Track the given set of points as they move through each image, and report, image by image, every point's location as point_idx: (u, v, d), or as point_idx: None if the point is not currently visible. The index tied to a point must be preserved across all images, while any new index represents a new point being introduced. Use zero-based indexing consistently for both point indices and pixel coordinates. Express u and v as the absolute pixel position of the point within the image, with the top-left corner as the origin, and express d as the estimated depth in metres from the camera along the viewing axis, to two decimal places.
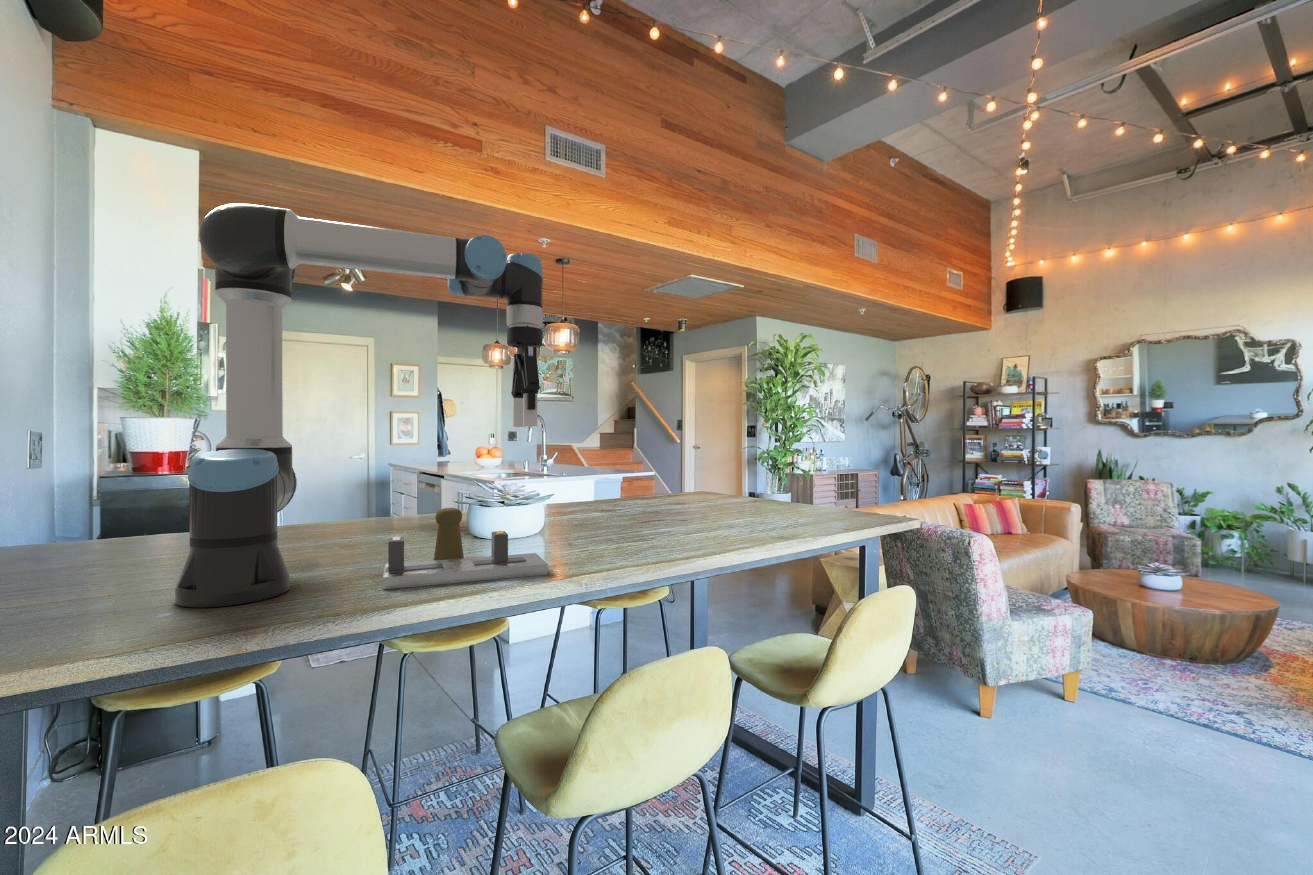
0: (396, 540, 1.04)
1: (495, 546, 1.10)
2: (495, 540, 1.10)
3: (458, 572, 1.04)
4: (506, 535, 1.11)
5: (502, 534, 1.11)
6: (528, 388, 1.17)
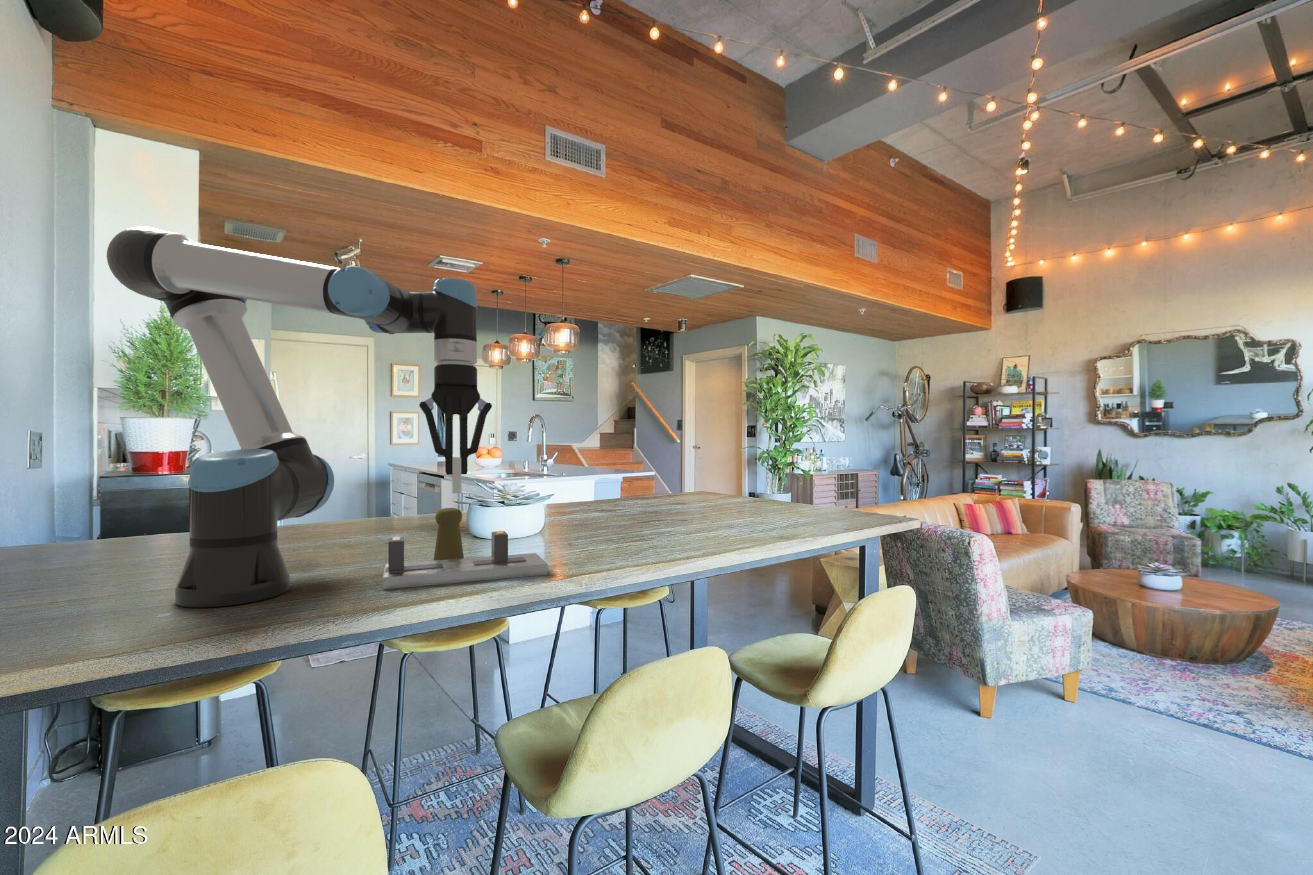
0: (396, 540, 1.04)
1: (495, 546, 1.10)
2: (495, 540, 1.10)
3: (458, 572, 1.04)
4: (506, 535, 1.11)
5: (502, 534, 1.11)
6: None
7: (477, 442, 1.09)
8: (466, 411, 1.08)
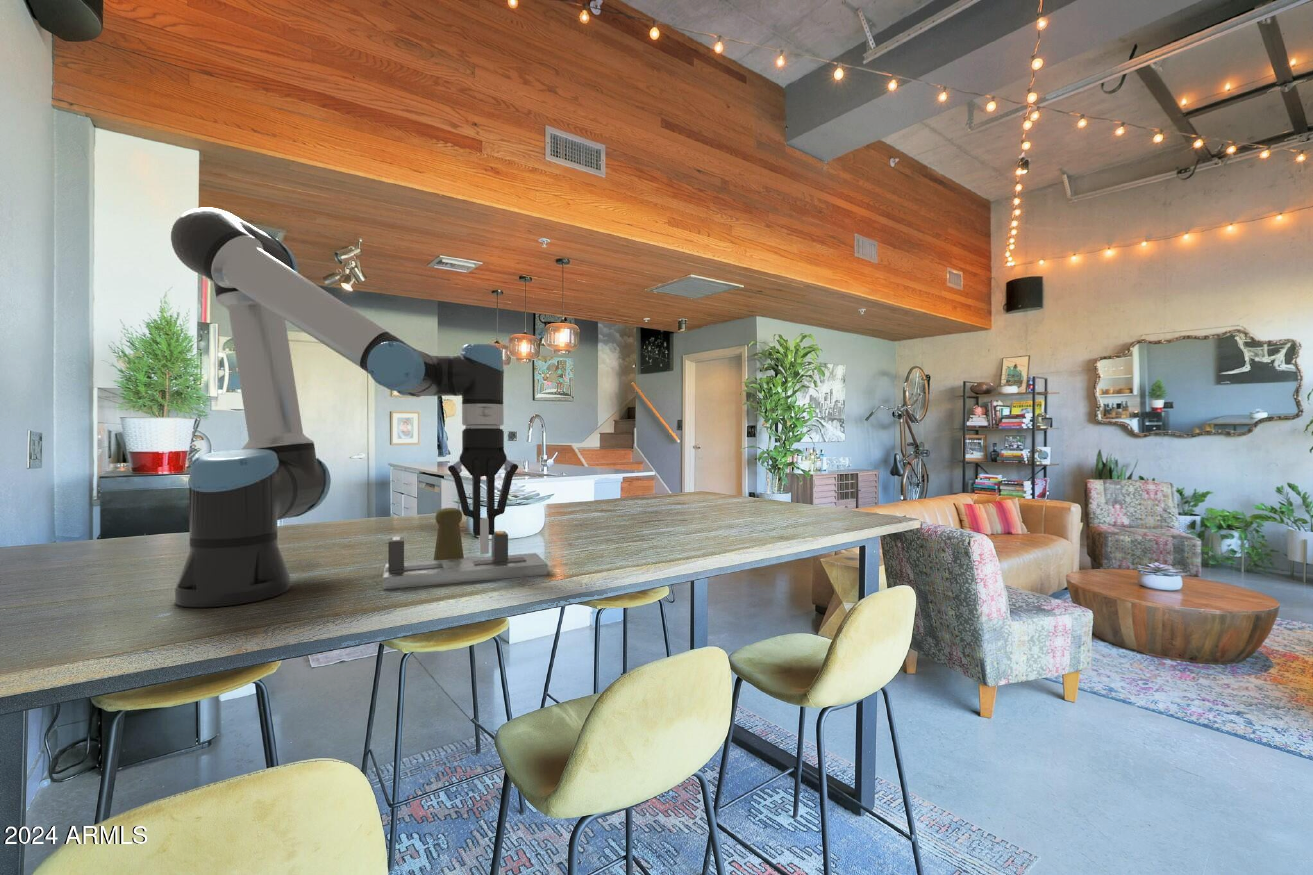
0: (396, 540, 1.04)
1: (495, 546, 1.10)
2: (495, 540, 1.10)
3: (458, 572, 1.04)
4: (506, 535, 1.11)
5: (502, 534, 1.11)
6: None
7: (504, 503, 1.11)
8: (493, 473, 1.10)
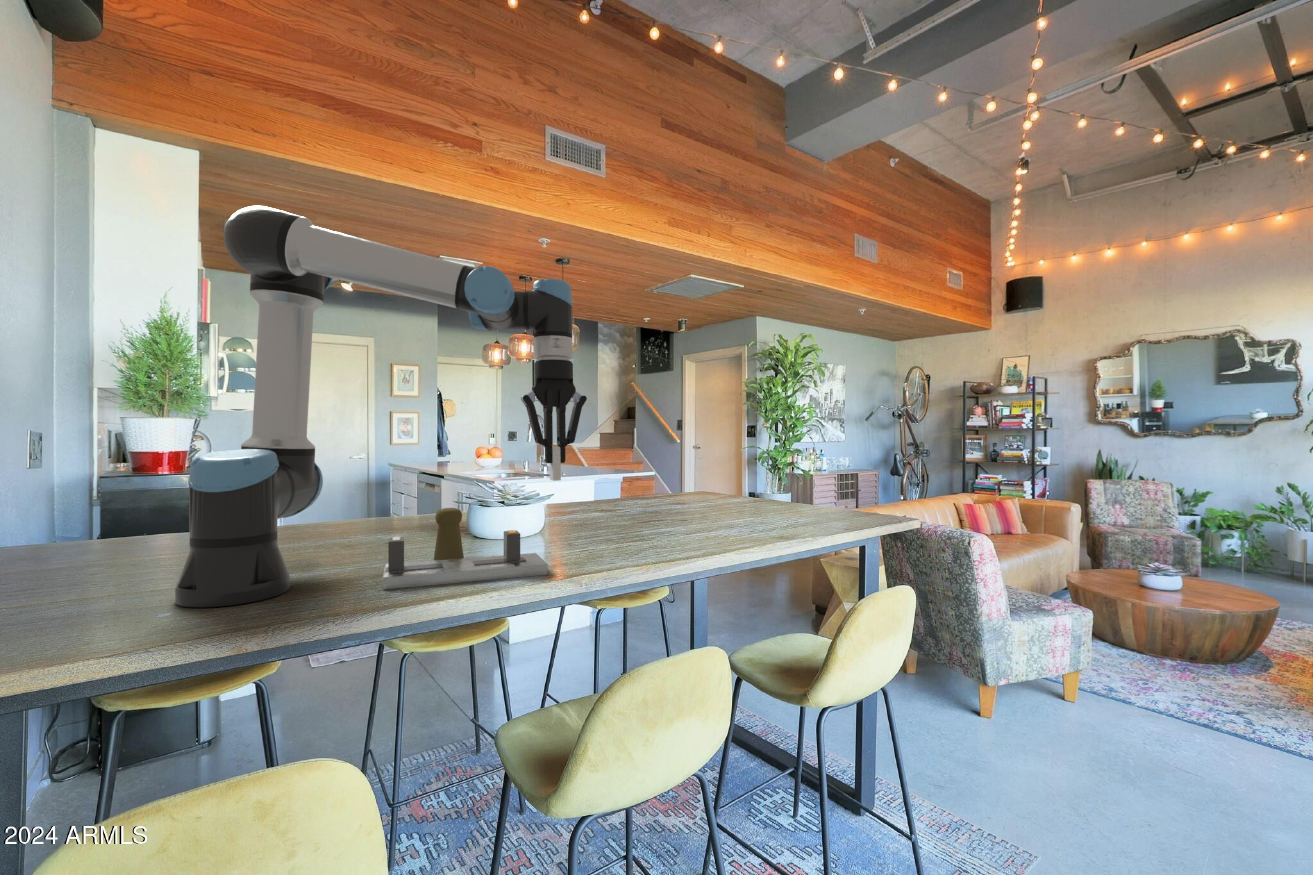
0: (396, 540, 1.04)
1: (507, 545, 1.11)
2: (507, 539, 1.11)
3: (458, 572, 1.04)
4: (518, 534, 1.11)
5: (514, 533, 1.11)
6: (537, 443, 1.16)
7: (574, 433, 1.16)
8: (564, 403, 1.15)
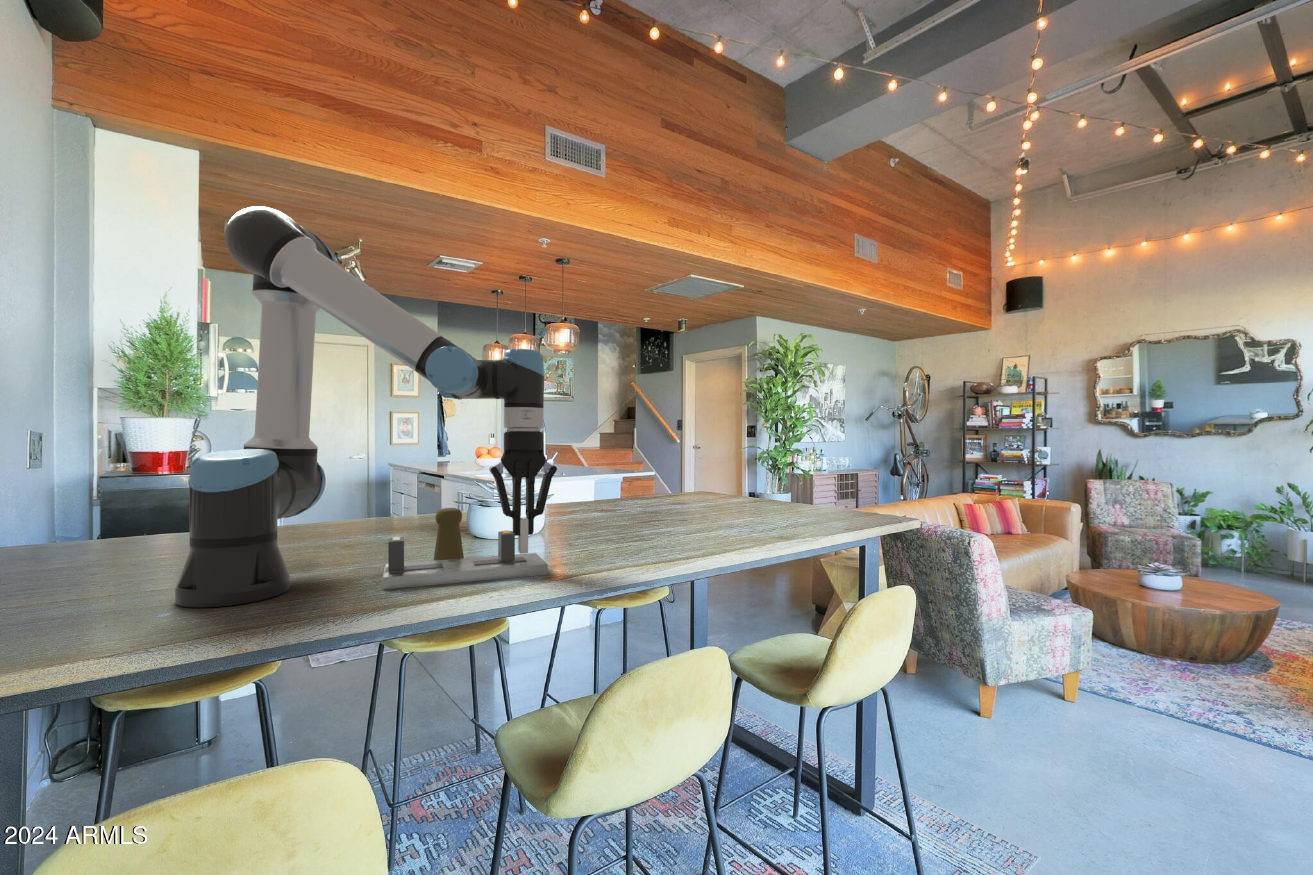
0: (396, 540, 1.04)
1: (502, 546, 1.10)
2: (502, 540, 1.10)
3: (458, 572, 1.04)
4: (513, 535, 1.11)
5: (509, 534, 1.11)
6: None
7: (543, 504, 1.14)
8: (533, 475, 1.13)
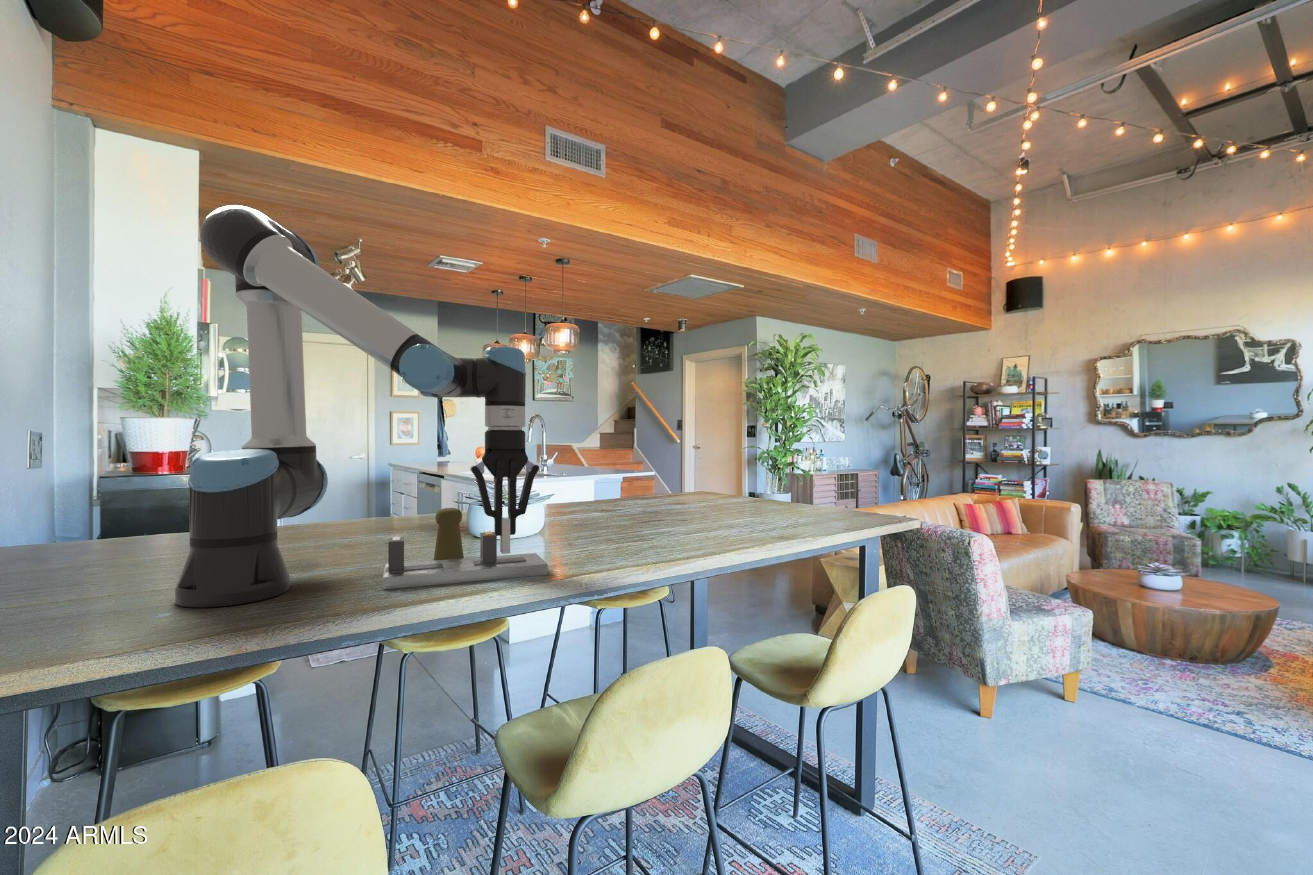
0: (396, 540, 1.04)
1: (483, 547, 1.09)
2: (483, 541, 1.09)
3: (458, 572, 1.04)
4: (495, 536, 1.10)
5: (491, 535, 1.10)
6: None
7: (525, 503, 1.13)
8: (515, 474, 1.11)
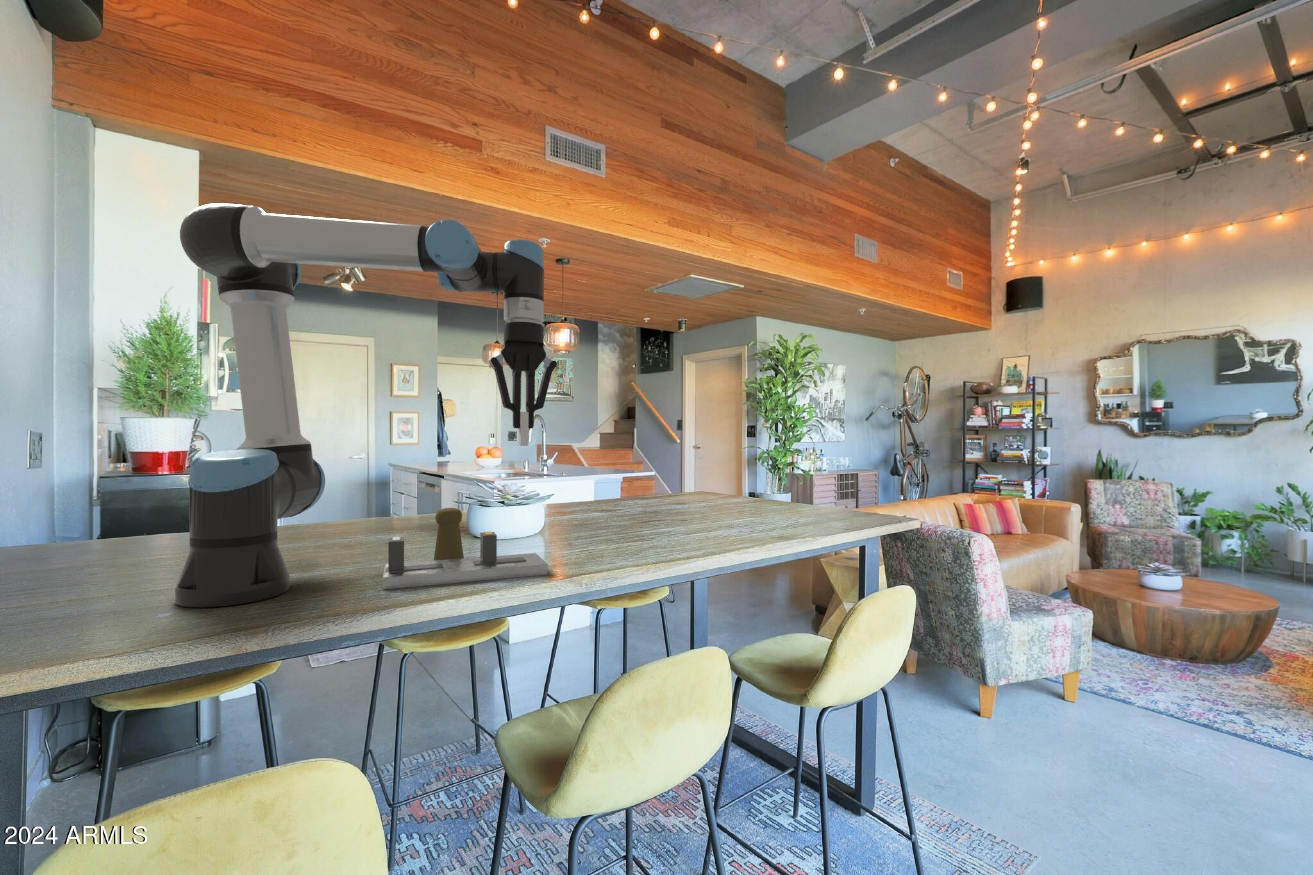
0: (396, 540, 1.04)
1: (483, 547, 1.09)
2: (483, 541, 1.09)
3: (458, 572, 1.04)
4: (495, 536, 1.10)
5: (491, 535, 1.10)
6: (505, 407, 1.13)
7: (543, 398, 1.14)
8: (534, 368, 1.13)
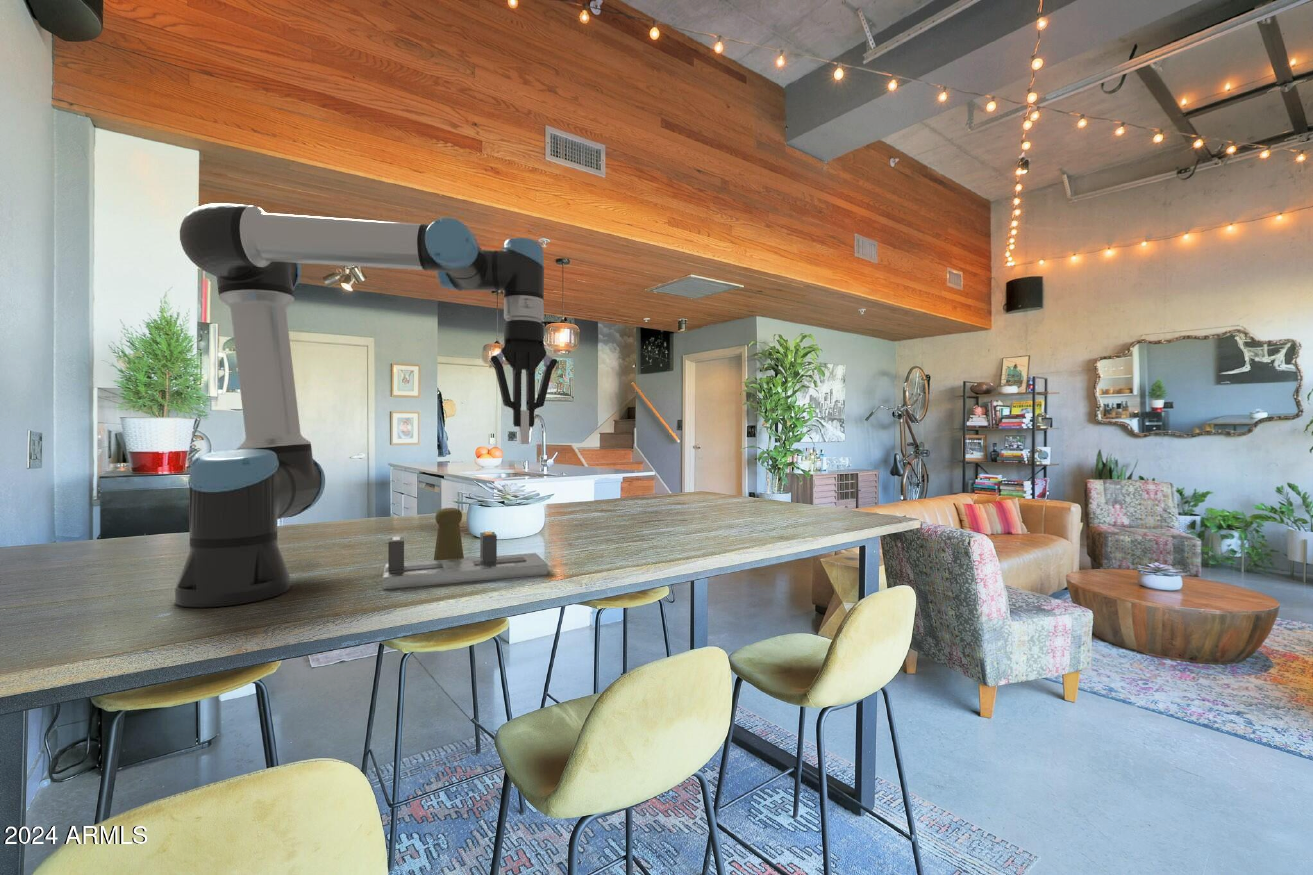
0: (396, 540, 1.04)
1: (483, 547, 1.09)
2: (483, 541, 1.09)
3: (458, 572, 1.04)
4: (495, 536, 1.10)
5: (491, 535, 1.10)
6: (506, 406, 1.13)
7: (543, 396, 1.14)
8: (534, 366, 1.13)
